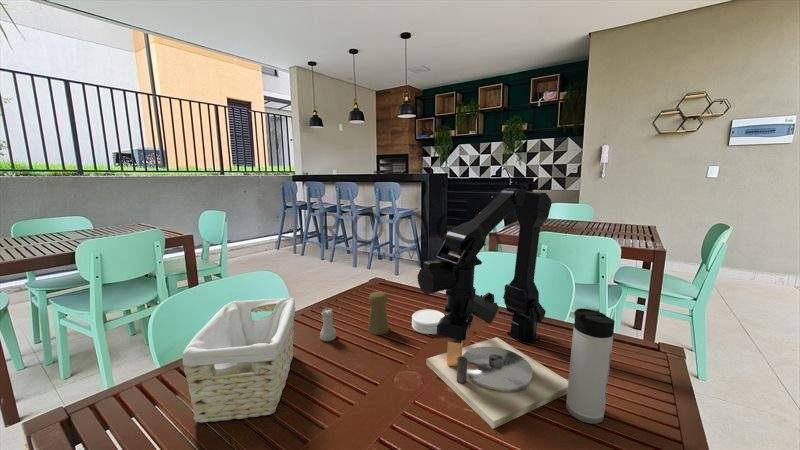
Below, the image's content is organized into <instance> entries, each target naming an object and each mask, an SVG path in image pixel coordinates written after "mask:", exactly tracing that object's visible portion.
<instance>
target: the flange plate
mask: <svg viewBox="0 0 800 450" xmlns="http://www.w3.org/2000/svg"><path fill="white" fill-rule="evenodd" d="M447 339H448V340H447V349H446V350H447V352H446V353H447V365H450V366H455V367H457V358H458V357H465V358H467V378H468V379H469V380H470V381H472V382H473V383H475V384H477V385H479V386H481V387H483V388H486V389H489V390H493V391H499V392H514V391H519V390H522V389H524V388H526V387H527V386H529V384H530V383H531V381H532V374H533V372H532V367H531V365H530V364H529V363H528V362H527V361H526V360H525V359H524V358H523V357H521V356H520V355H518V354H516V353H514V352H512V351H509V350H506V349H503V348H498V347H488V346H487V347H476V348H473V349H470V350H468V351H467V352H465V353H464V354H463V356H462V348H463V347H464V346H463V342H464V340H458V339H453V338H447Z"/></svg>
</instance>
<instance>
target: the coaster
mask: <svg viewBox="0 0 800 450" xmlns="http://www.w3.org/2000/svg"><path fill="white" fill-rule="evenodd" d="M444 316H446V315H445V314H444V313H443V312H441V311H439V310H436V309H420V310H417V311H415V312H413V314H412V316H411V328H412V329H413V330H414V331H416V332H417V333H418V334H419V333H420V334H423V335H429V334H432V335H437V325H438V323H439V321H440V319H441V318H442V317H444Z"/></svg>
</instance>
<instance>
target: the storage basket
mask: <svg viewBox="0 0 800 450" xmlns="http://www.w3.org/2000/svg"><path fill="white" fill-rule="evenodd" d="M295 305H296V304H295V298H294V297H286V298H282V297H281V298H264V299H249V300H246V299H245V300H234V301H230V302H229V303H226V304H225V305H224V306H222V307H221V309H219V310H218V311H217V312H216V313H215V314H214V315H213V316H212V317H211V319H210V320H209V321H208V322H207V323H206V324H205V325H204V326H203V327H202V328H201V329H200V330H199V331H198V332H197V333H196V334H195V335H194V336H193V337H192V339H191V340H190V342H189V343H188V344H187V346H186V347H185V349H184V350H183V352H182V366H183V367H184V368H183V371H184V375H185V376H186V377H185V378H186V381H187V384H188V393H189V395H190V398H191V399H190V401H191V405H192V410H193V412H192V413H193V415H194V416H193V420H195V422H197V423H208V422H220V421H230V420H234V419H236V420H241V419H247V418H255V417H260V416H269V415H272V414H274V413H275V412H276V410H277V407H278V404H279V402H280V400H281V396H282V395H283V390H284V388H285V386H286V381H287V379H288V376H289V372H290V369H291V367H290V366H291V363H292V360H293V353H294V345H293V343H294V330H295V329H294V326H295V324H294V322H295V312H296V306H295ZM252 312H253V313H259V312H272V313H271V314H270V315H267V316H264V317H263V318H262V317H261V318H260V319H258V320H253V316H252Z"/></svg>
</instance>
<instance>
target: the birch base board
mask: <svg viewBox="0 0 800 450" xmlns="http://www.w3.org/2000/svg"><path fill="white" fill-rule="evenodd" d="M487 346H488V347H498V348H503V349H506V350H509V351H512V352H514V353H516V354H518V355H520V356H521V357H523V358H524V359H525V360H526V361H527V362H528V363H529V364H530V365H531V367H532V372H533V374H532V381H531V383H530V384H529V386H527V387H526V388H524V389H522V390H519V391H514V392H499V391H493V390H489V389H486V388H483V387H481V386H479V385H477V384H475V383H473V382H472V381H470V380H469V379H468V378H467V358H465V357H458V358H457V367H455V366H450V365H447V352H444V353H440V354H437V355H434V356H431V357H427V358H426V366H427V367H428V368H430V370H431V371H432V372H434V373H435V374H436V376H438V377H439V378H440V379H441V380H442V381H443V382H444V384H446V385H447V386H448V387H449V388H450V389H451V390H452V391H453V392H454V393H455V394H457V396H458V397H460V398H461V399H462V401H463V402H464V403H466V404H467V405H468V406H469V407H470V408H471V409H472V410H473V411H474V412H475V413H476V414H477V415H478V416H479V417H480V418H481V419H482V420H483V421H484V422H486V423H487V424H488V425H489V426H490V428H491V429H492V430H494V429H496V428H498V427H500V426H502V425H505V424H506V423H508V422H510V421H513V420H515V419H517V418H519V417H521V416H523V415H526V414H527V413H531V411H532V412H533V410H536V409H538V408H540V407H542V406H544V405H546V404H549V403H551V402H552V401H554V400H557V399H559V398H561V397H563V396H565V395H566V396H567V390H568V380H569V379H568V380H567V379H566V378H564V377H562V376H561V375H559V374H557V372H555V371H552V369H550V368H548V367H546V366H544V365H543V364H541V363H540V362H538V361H537V360H535V359H533V358H532V357H530V356H528V355H526V354H525V353H523V352H522V351H520V350H519V349H517V348H515V347H514V346H512V345H510V344H508V343H507V342H505V341H504V340H502V339H501V338H499V337H497V336H496V337H494V338H493V337H492V338H489V339H486V340H483V341H479V342H476V343H473V344H470V345H467V346H462V356H463V354H464V353H465V352H467V351H468V350H470V349H473V348H476V347H487Z"/></svg>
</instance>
